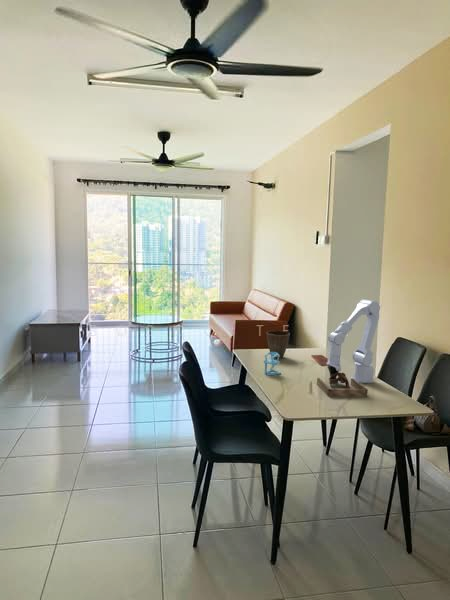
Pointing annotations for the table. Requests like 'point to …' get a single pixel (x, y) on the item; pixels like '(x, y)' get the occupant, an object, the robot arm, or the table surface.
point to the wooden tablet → (320, 359)
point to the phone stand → (272, 362)
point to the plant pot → (278, 342)
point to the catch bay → (344, 390)
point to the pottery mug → (339, 379)
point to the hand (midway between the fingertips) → (332, 380)
